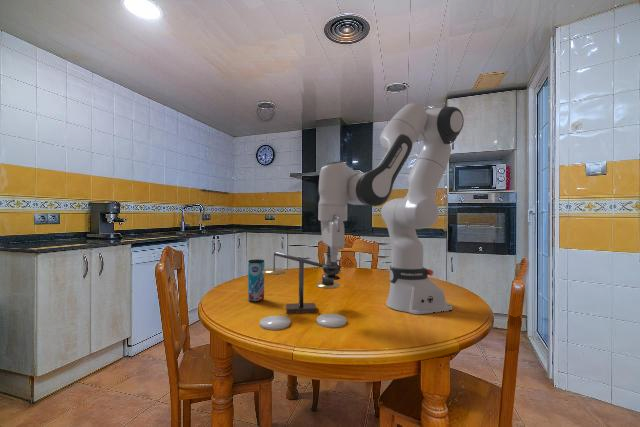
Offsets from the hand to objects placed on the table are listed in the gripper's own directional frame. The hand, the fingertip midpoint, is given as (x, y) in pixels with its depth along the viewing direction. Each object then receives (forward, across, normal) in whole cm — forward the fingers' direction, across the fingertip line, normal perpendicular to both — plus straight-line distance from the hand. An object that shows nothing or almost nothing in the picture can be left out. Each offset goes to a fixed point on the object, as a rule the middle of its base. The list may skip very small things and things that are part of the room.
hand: (332, 260), depth 93 cm
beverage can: (+19, +25, +24) cm, 40 cm away
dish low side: (+19, 0, 0) cm, 19 cm away
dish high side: (+19, 0, +17) cm, 25 cm away
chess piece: (+6, 0, 0) cm, 6 cm away
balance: (+19, +12, +8) cm, 24 cm away
